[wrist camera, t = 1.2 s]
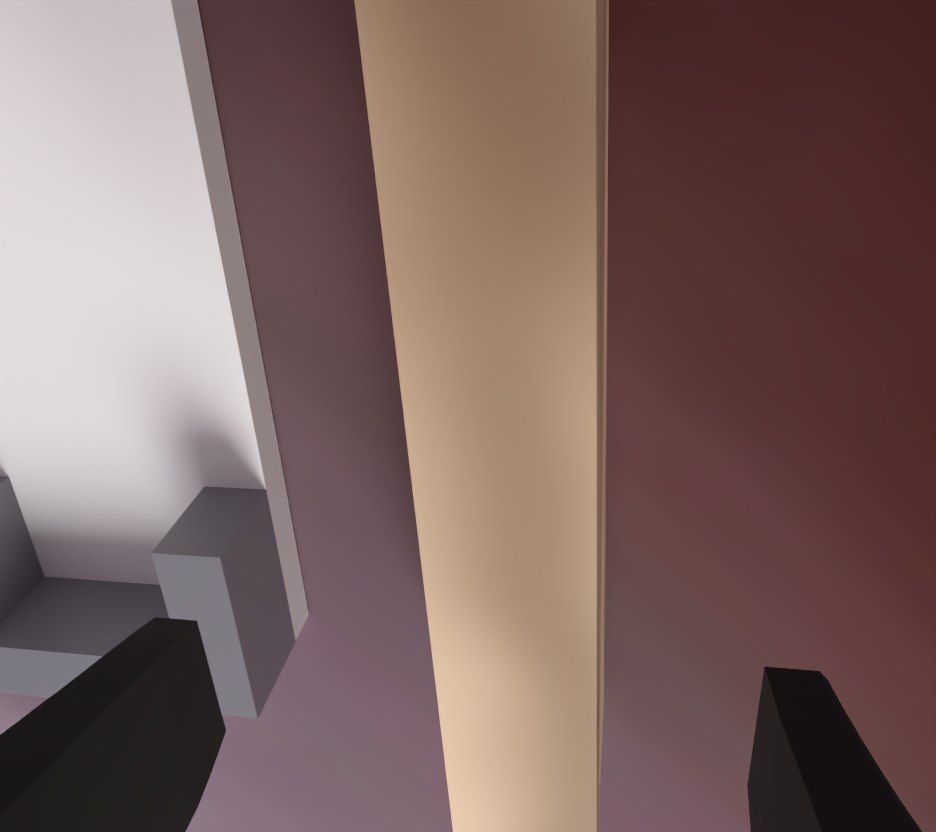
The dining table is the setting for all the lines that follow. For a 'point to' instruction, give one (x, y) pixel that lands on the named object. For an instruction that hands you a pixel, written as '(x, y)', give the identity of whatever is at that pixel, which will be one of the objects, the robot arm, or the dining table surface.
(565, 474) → the oak slat
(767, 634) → the dining table surface
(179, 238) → the cradle
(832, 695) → the robot arm
